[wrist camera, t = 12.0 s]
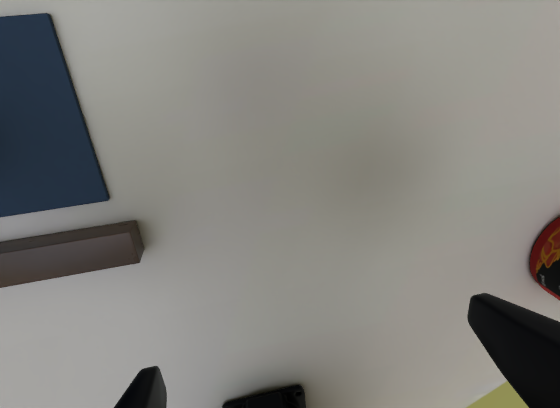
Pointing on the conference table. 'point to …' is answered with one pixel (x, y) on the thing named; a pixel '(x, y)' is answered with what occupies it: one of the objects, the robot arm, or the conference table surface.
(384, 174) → the conference table surface
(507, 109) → the conference table surface
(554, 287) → the canned food
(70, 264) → the bar
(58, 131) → the mat
